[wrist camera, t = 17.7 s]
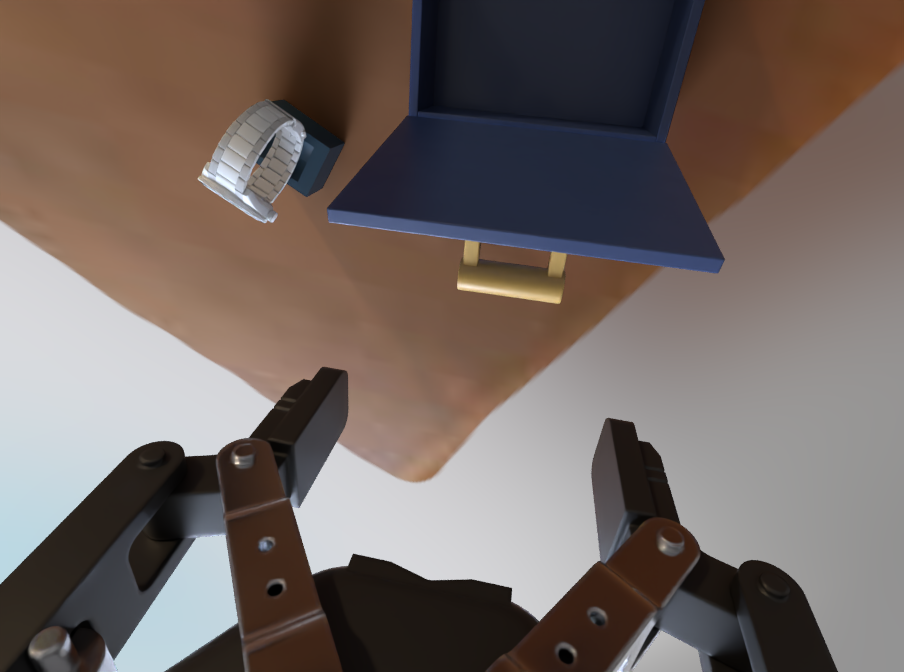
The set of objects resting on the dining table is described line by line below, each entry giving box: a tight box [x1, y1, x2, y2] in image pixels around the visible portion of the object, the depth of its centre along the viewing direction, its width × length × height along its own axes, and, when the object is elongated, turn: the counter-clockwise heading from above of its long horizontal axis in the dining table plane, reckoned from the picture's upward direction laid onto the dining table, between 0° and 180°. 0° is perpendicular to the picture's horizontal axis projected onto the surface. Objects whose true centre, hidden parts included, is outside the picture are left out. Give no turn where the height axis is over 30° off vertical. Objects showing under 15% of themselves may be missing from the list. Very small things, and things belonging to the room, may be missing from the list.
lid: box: [327, 116, 725, 304], centre depth 27 cm, size 14×16×4 cm
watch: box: [197, 99, 345, 223], centre depth 35 cm, size 6×8×11 cm
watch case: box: [409, 0, 705, 143], centre depth 30 cm, size 13×16×6 cm
